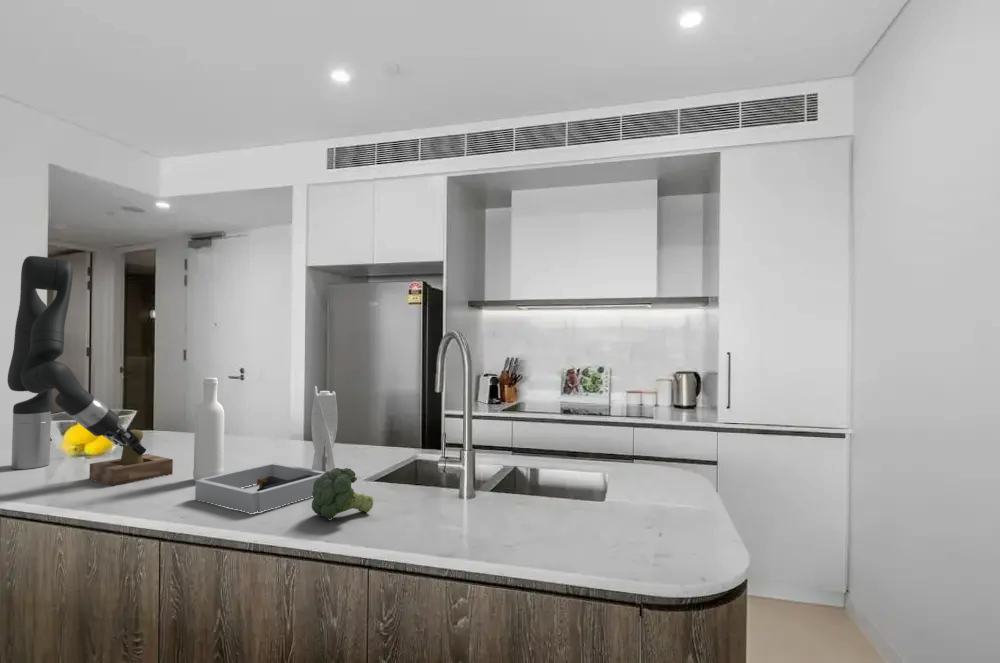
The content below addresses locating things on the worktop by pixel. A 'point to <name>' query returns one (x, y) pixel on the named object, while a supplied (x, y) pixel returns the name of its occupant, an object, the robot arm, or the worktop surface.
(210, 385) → the bottle
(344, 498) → the vegetable
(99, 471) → the socket block
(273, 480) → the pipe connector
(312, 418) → the skyscraper
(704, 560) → the worktop surface
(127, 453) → the cork
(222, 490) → the tray rim
